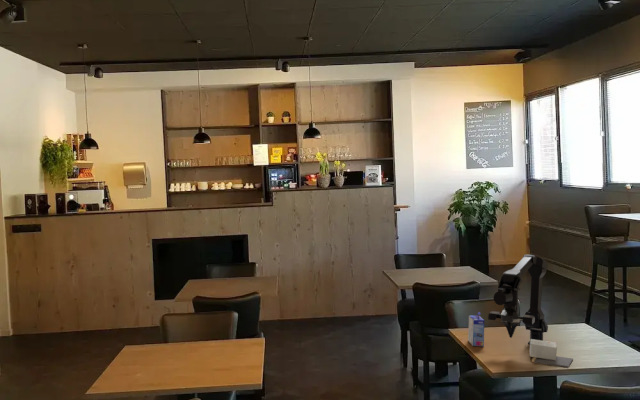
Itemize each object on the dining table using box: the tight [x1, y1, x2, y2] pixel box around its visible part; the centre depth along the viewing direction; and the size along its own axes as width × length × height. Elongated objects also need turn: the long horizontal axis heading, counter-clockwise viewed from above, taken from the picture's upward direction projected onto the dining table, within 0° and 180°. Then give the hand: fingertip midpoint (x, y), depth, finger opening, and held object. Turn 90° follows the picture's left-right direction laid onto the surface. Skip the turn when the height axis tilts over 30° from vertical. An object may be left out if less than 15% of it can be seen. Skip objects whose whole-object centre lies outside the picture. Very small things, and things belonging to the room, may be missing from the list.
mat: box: [531, 355, 574, 368], centre depth 249 cm, size 12×14×1 cm
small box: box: [529, 339, 558, 361], centre depth 253 cm, size 8×6×10 cm
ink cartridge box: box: [467, 311, 485, 347], centre depth 276 cm, size 10×6×14 cm, turn 178°
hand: (510, 337), depth 258 cm, fingers closed
